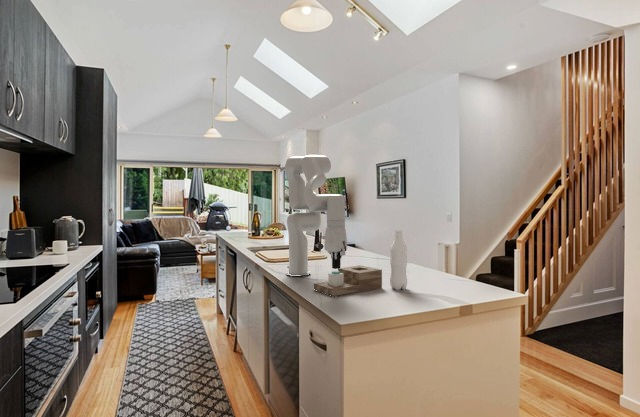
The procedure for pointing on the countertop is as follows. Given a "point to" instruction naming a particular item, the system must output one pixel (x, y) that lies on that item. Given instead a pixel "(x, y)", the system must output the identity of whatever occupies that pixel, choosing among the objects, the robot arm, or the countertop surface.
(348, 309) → the countertop surface
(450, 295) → the countertop surface
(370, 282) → the wooden stepped block
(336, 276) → the plug
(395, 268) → the water bottle
